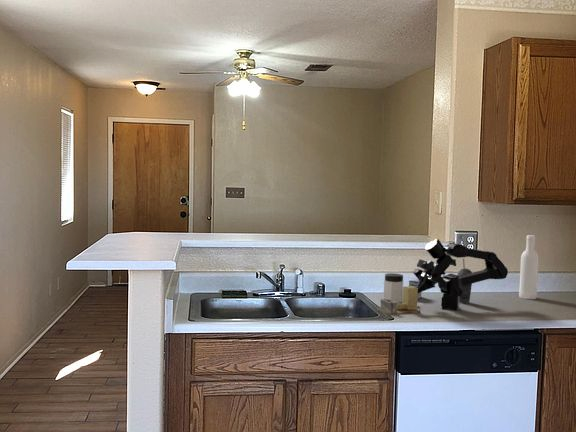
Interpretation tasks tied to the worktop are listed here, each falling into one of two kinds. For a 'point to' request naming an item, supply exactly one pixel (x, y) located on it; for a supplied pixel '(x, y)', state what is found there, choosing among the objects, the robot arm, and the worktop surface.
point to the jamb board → (394, 308)
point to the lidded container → (393, 287)
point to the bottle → (529, 270)
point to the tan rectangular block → (409, 298)
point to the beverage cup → (465, 287)
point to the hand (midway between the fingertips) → (416, 292)
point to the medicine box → (415, 285)
